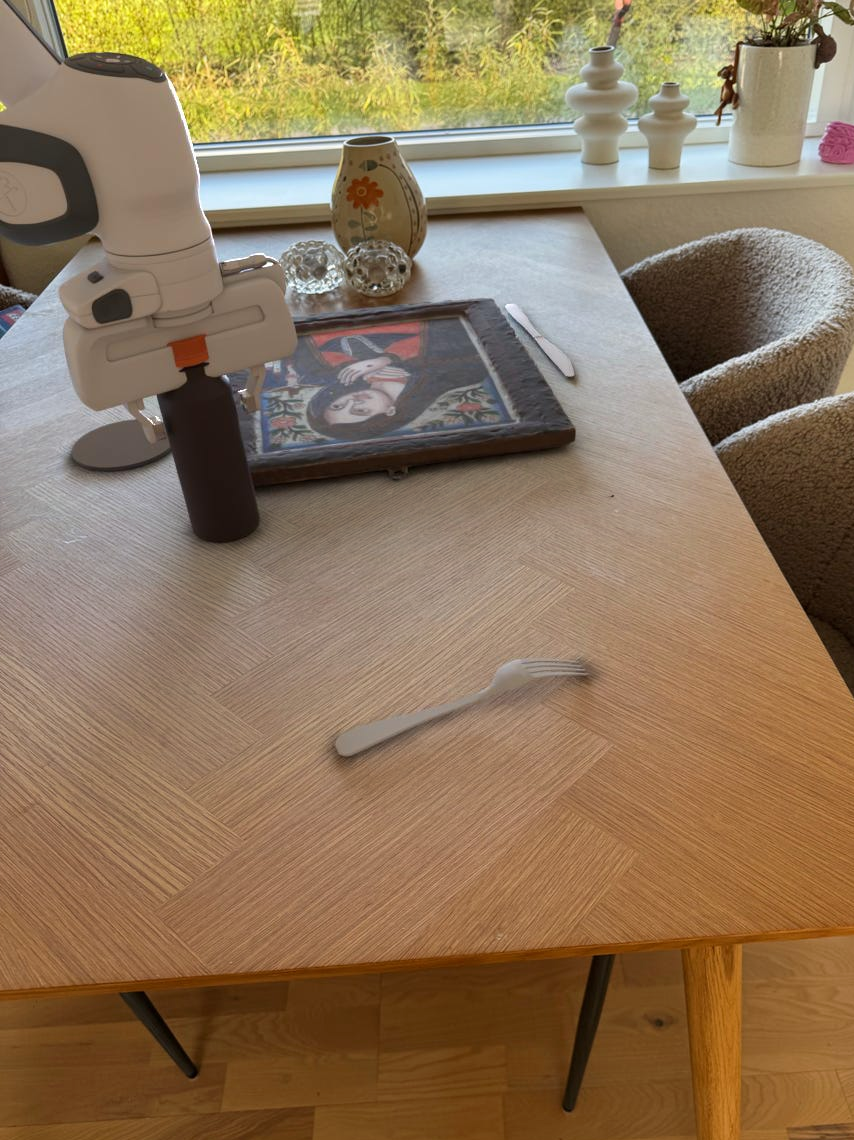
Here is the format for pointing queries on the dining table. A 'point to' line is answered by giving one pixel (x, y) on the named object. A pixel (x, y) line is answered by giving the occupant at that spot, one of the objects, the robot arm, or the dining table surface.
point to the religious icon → (398, 393)
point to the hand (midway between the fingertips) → (205, 424)
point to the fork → (453, 703)
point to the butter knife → (542, 341)
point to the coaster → (118, 447)
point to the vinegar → (208, 448)
